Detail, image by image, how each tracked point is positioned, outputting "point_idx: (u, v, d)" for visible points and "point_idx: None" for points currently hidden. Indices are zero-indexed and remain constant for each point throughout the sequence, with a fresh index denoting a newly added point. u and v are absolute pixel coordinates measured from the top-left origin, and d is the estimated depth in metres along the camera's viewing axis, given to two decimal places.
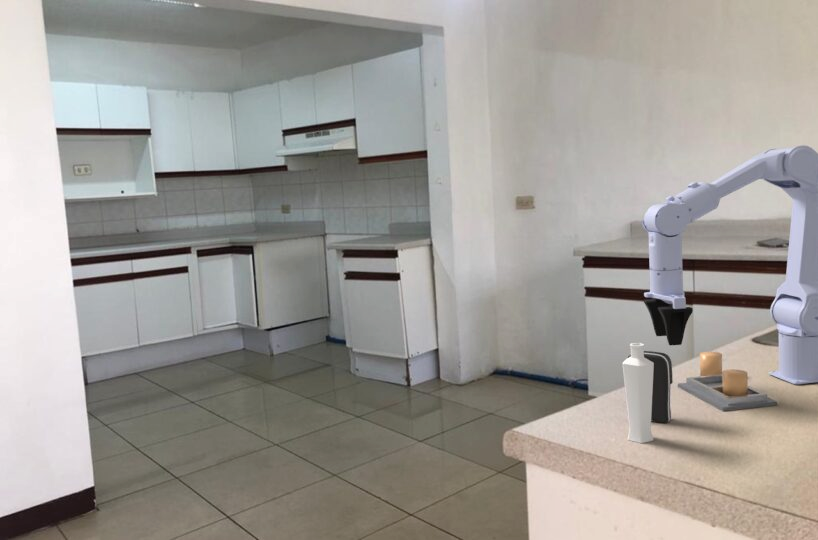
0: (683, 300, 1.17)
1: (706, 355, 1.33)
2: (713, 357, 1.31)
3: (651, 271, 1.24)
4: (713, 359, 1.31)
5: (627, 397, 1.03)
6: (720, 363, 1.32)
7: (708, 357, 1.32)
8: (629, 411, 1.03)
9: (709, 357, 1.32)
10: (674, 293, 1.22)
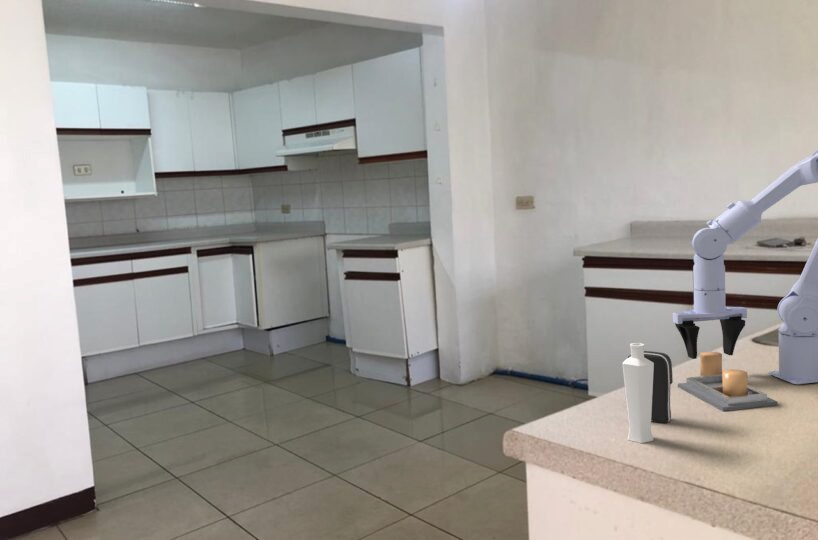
0: (676, 316, 1.31)
1: (706, 355, 1.33)
2: (713, 357, 1.31)
3: None
4: (713, 359, 1.31)
5: (627, 397, 1.03)
6: (720, 363, 1.32)
7: (708, 357, 1.32)
8: (629, 411, 1.03)
9: (709, 357, 1.32)
10: (697, 311, 1.31)
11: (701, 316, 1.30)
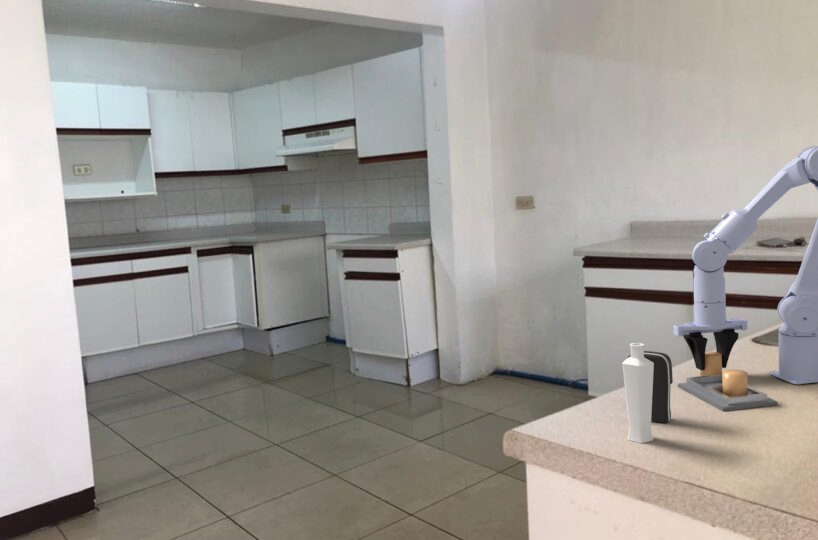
0: (677, 329, 1.31)
1: (706, 355, 1.33)
2: (713, 357, 1.31)
3: None
4: (713, 359, 1.31)
5: (627, 397, 1.03)
6: (720, 363, 1.32)
7: (708, 357, 1.32)
8: (629, 411, 1.03)
9: (709, 357, 1.32)
10: (697, 324, 1.32)
11: (702, 328, 1.30)
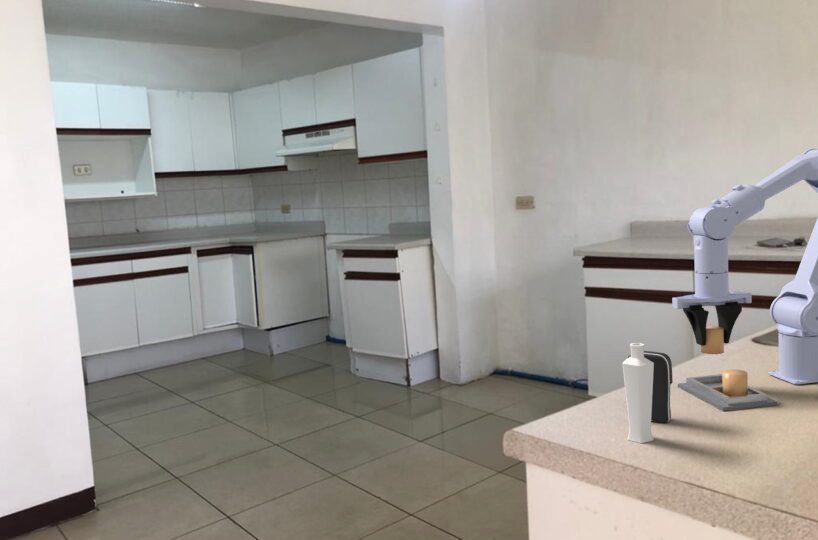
0: (676, 301, 1.23)
1: (706, 329, 1.25)
2: (714, 331, 1.24)
3: None
4: (714, 333, 1.24)
5: (627, 397, 1.03)
6: (721, 338, 1.24)
7: (708, 331, 1.24)
8: (629, 411, 1.03)
9: (709, 331, 1.24)
10: (698, 296, 1.24)
11: (702, 301, 1.22)
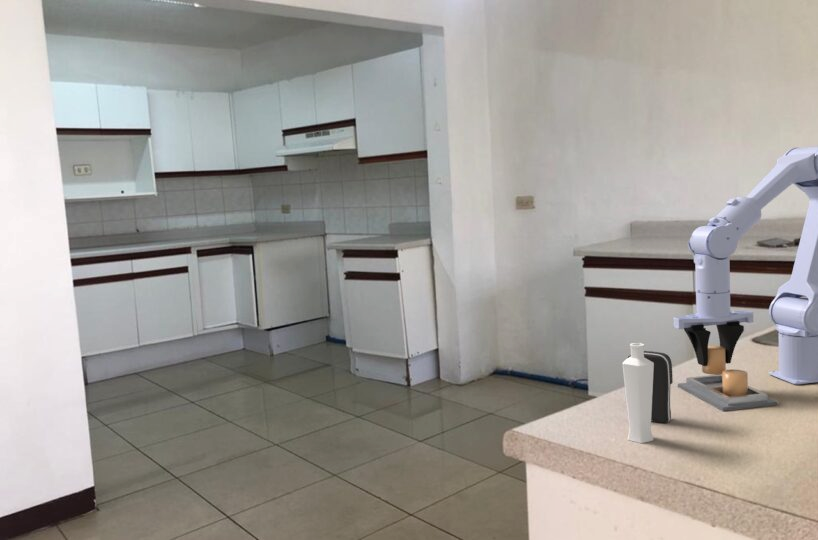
0: (677, 321, 1.22)
1: (708, 349, 1.23)
2: (715, 351, 1.22)
3: None
4: (716, 353, 1.22)
5: (627, 397, 1.03)
6: (723, 358, 1.22)
7: (710, 351, 1.22)
8: (629, 411, 1.03)
9: (711, 351, 1.22)
10: (699, 315, 1.22)
11: (704, 321, 1.21)
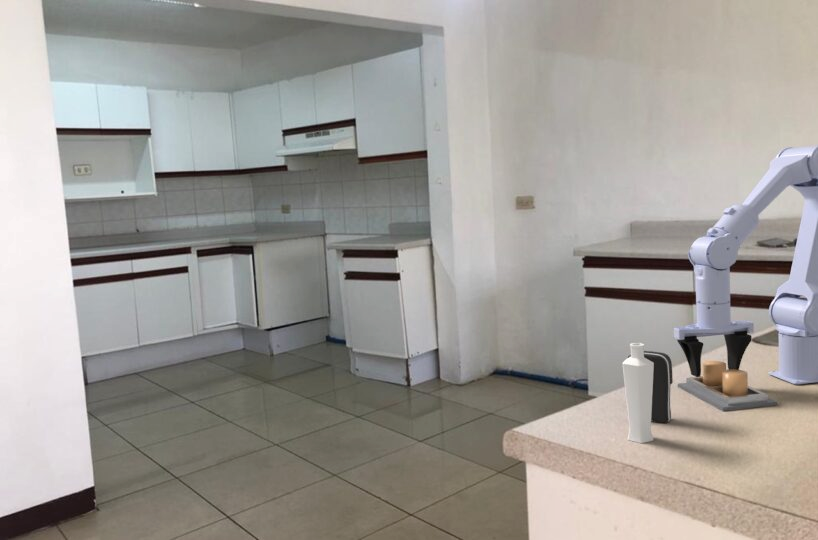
0: (678, 331, 1.22)
1: (709, 365, 1.23)
2: (716, 367, 1.22)
3: None
4: (716, 369, 1.22)
5: (627, 397, 1.03)
6: None
7: (711, 367, 1.23)
8: (629, 411, 1.03)
9: (712, 367, 1.23)
10: (700, 326, 1.22)
11: (704, 331, 1.21)
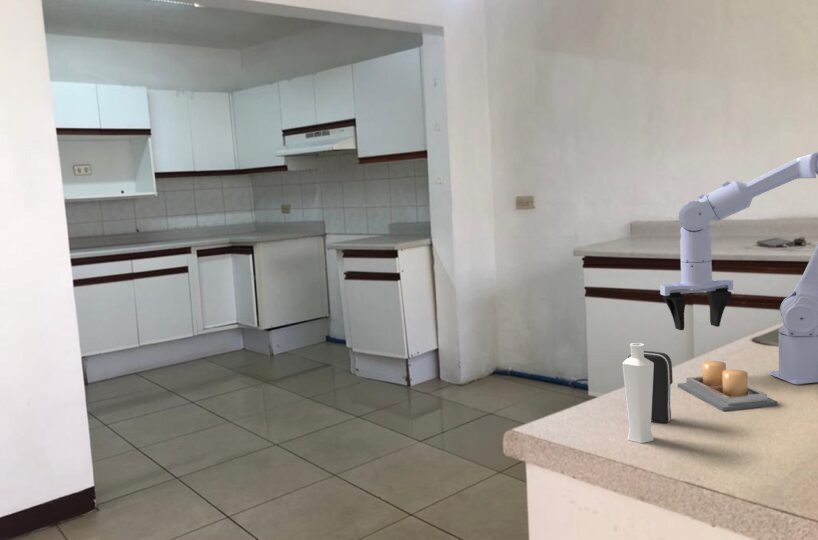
0: (663, 288, 1.33)
1: (709, 365, 1.23)
2: (716, 367, 1.22)
3: None
4: (716, 369, 1.22)
5: (627, 397, 1.03)
6: None
7: (711, 367, 1.23)
8: (629, 411, 1.03)
9: (712, 367, 1.23)
10: (684, 283, 1.34)
11: (688, 287, 1.32)
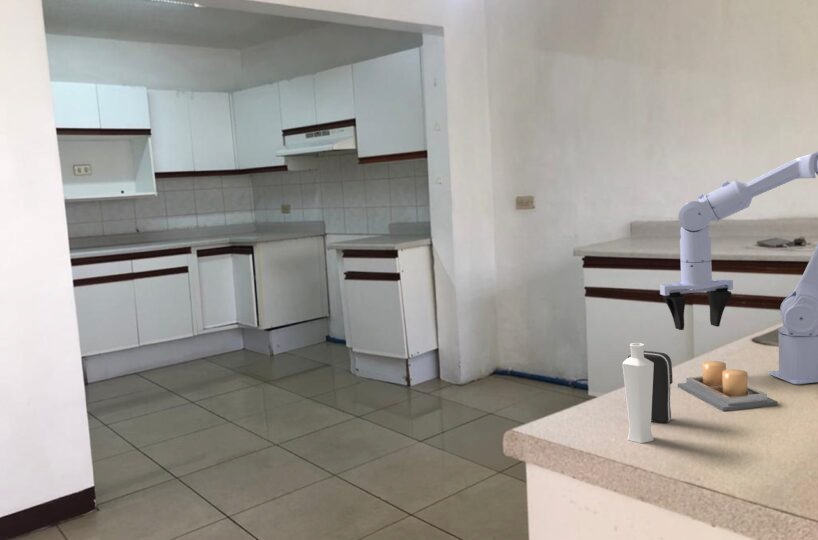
0: (663, 288, 1.33)
1: (709, 365, 1.23)
2: (716, 367, 1.22)
3: None
4: (716, 369, 1.22)
5: (627, 397, 1.03)
6: None
7: (711, 367, 1.23)
8: (629, 411, 1.03)
9: (712, 367, 1.23)
10: (684, 283, 1.34)
11: (688, 287, 1.32)
